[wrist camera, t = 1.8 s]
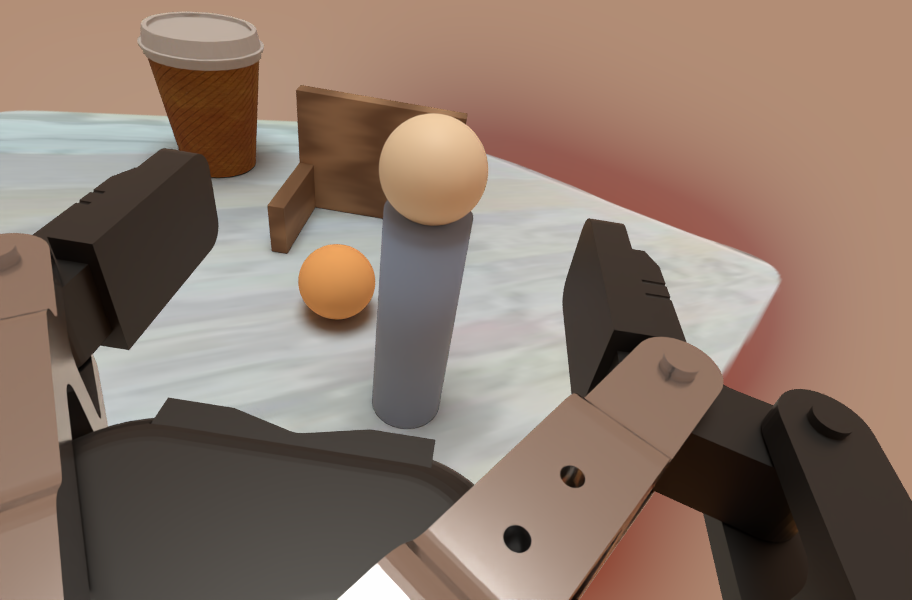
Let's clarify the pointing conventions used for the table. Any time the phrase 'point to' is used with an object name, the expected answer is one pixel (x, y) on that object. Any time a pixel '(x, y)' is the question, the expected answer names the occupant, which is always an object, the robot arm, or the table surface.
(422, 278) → the player figure
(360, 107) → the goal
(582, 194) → the table surface
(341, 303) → the ball
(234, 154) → the disposable coffee cup
